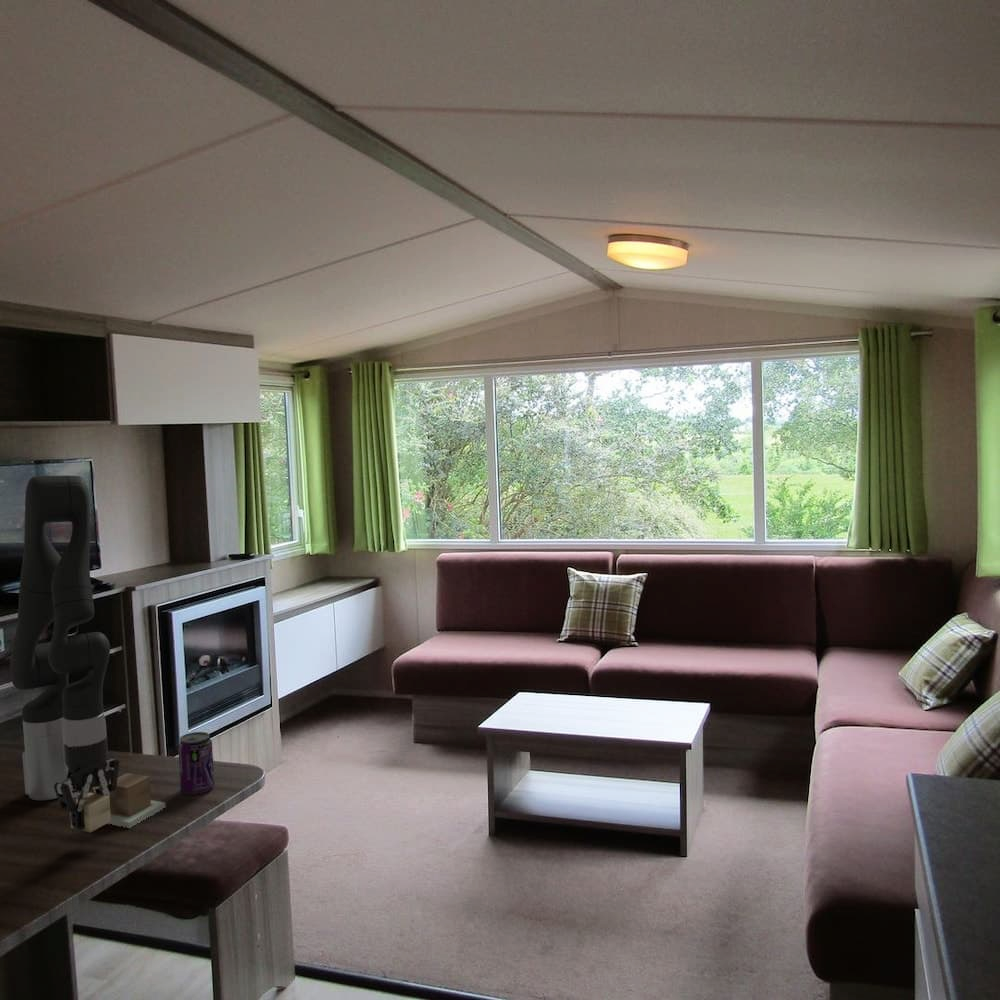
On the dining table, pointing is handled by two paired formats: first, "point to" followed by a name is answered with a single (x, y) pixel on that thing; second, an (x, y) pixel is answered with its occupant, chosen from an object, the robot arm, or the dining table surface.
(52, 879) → the dining table surface
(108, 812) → the beech cube
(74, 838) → the dining table surface
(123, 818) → the plate
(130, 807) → the walnut cube
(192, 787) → the beverage can
